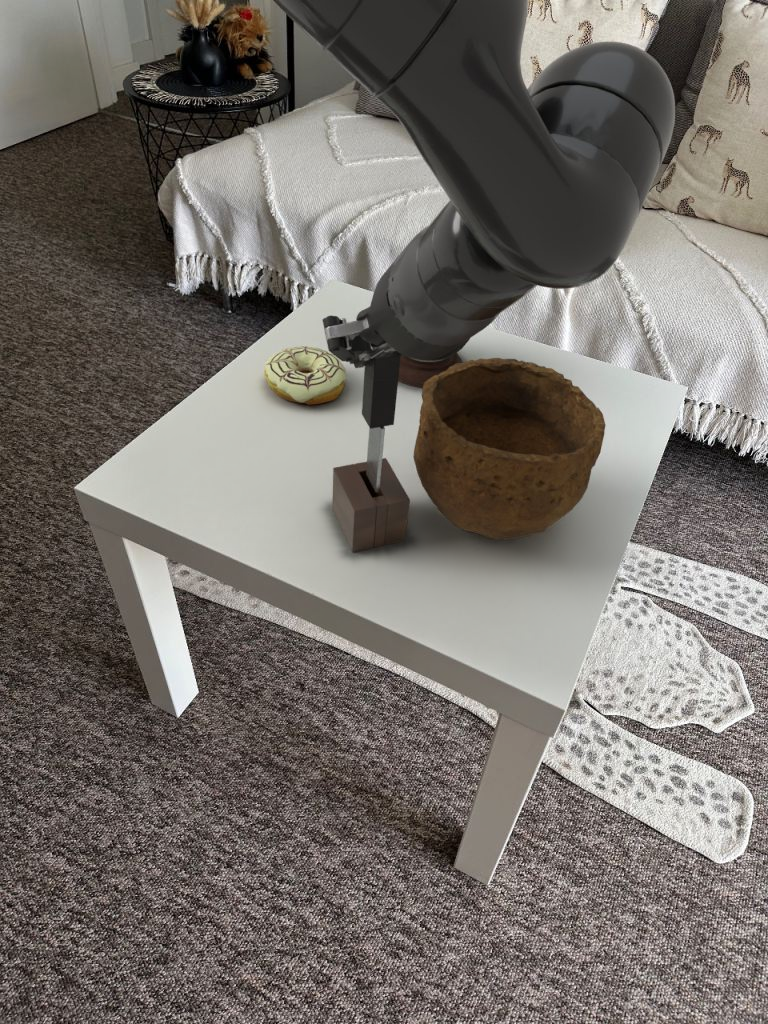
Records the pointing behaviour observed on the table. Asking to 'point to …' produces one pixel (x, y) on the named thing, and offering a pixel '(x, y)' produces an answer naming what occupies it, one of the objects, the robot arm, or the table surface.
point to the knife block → (369, 506)
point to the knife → (379, 408)
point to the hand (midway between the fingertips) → (371, 354)
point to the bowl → (505, 446)
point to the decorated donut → (305, 375)
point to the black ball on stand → (426, 367)
